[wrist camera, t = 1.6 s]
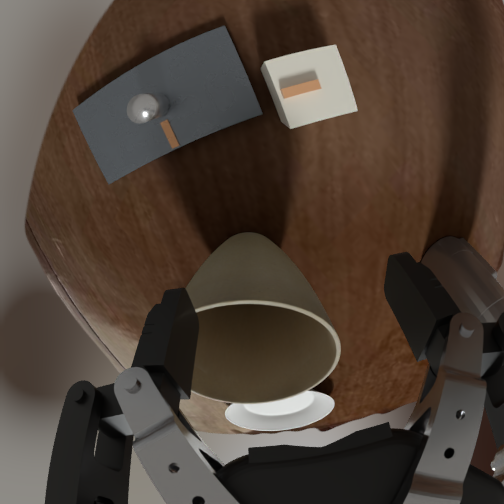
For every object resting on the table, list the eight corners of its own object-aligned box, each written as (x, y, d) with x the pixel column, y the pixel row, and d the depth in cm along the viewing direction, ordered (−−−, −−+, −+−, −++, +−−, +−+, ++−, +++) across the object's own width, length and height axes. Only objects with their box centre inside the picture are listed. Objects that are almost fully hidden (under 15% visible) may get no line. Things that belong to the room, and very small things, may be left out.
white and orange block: (316, 54, 21) (338, 43, 15) (335, 106, 24) (361, 111, 18) (260, 68, 22) (265, 60, 16) (281, 121, 25) (292, 130, 19)
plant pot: (324, 217, 31) (374, 316, 18) (285, 307, 39) (300, 407, 26) (196, 188, 29) (156, 281, 15) (182, 289, 37) (158, 391, 23)
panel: (225, 28, 19) (220, 12, 14) (261, 113, 25) (266, 117, 20) (79, 108, 23) (48, 116, 17) (114, 180, 28) (90, 200, 23)
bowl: (248, 424, 65) (248, 435, 62) (206, 387, 52) (205, 401, 49) (336, 406, 61) (338, 417, 58) (323, 363, 48) (327, 378, 45)
